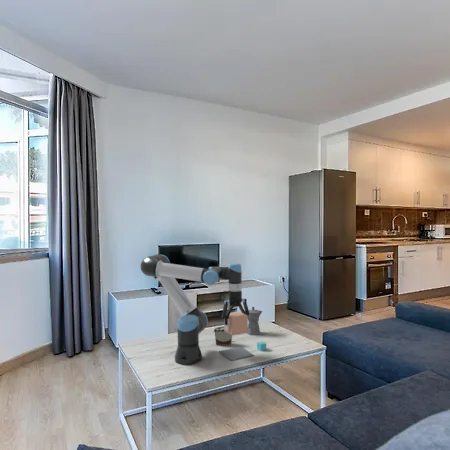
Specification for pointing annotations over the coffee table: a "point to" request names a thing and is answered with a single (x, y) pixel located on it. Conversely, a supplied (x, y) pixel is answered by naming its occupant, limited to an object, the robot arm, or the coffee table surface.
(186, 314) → the robot arm
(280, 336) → the coffee table surface
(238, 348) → the mat
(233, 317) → the salmon peach cube
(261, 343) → the fully visible block
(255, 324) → the coffeepot
